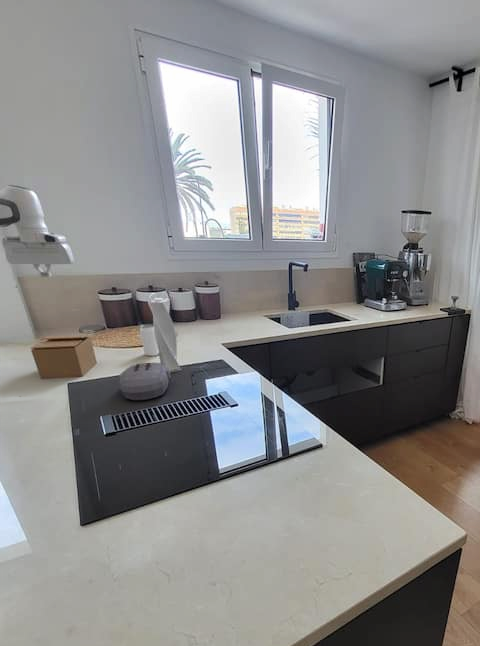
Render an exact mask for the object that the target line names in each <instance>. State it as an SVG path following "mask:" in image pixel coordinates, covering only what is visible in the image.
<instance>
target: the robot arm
mask: <svg viewBox="0 0 480 646" xmlns="http://www.w3.org/2000/svg"><path fill="white" fill-rule="evenodd" d="M11 225H14V226H15V228H16V232H17V235H18V236H5V237H4V238H2V240H1V243H2V246H3V248H4V252H5V258H6V261H7V262H8V263H9V264H10V265H33V268H34V269H35V270H36V271H37V272H38V273H39V276H40V278H52V269H53V265H72V264H74V262H75V258H74V255H73V252H72V249H71V247H70V245H69V244H67V243H66V242H67V239H66V237H65V235H61V234H59V233H58V234H57V233H54V232H51V231H49V229H48V226H47V225H46V222H45V215H44V211H43V207H42V204H41V202H40V199H39V197H38V195H37V194H36V192H34V191H33V190H32V189H30V188H27V187H25V186H19V185H14V184H7V185H6V186H4V187H3V188H2V189H0V228H7V227H10V226H11ZM42 265H44V266H45V268H46V271H43V269H42V268H41V267H42Z"/></svg>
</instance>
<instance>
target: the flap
mask: <svg viewBox="0 0 480 646" xmlns="http://www.w3.org/2000/svg"><path fill="white" fill-rule="evenodd" d="M84 337H91V336H90V334H73V335H71V334H69V335H48V336H45V337H41V338H39V339H40V341H43V340H45V341H47V340H49V339H73V338H84Z"/></svg>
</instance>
